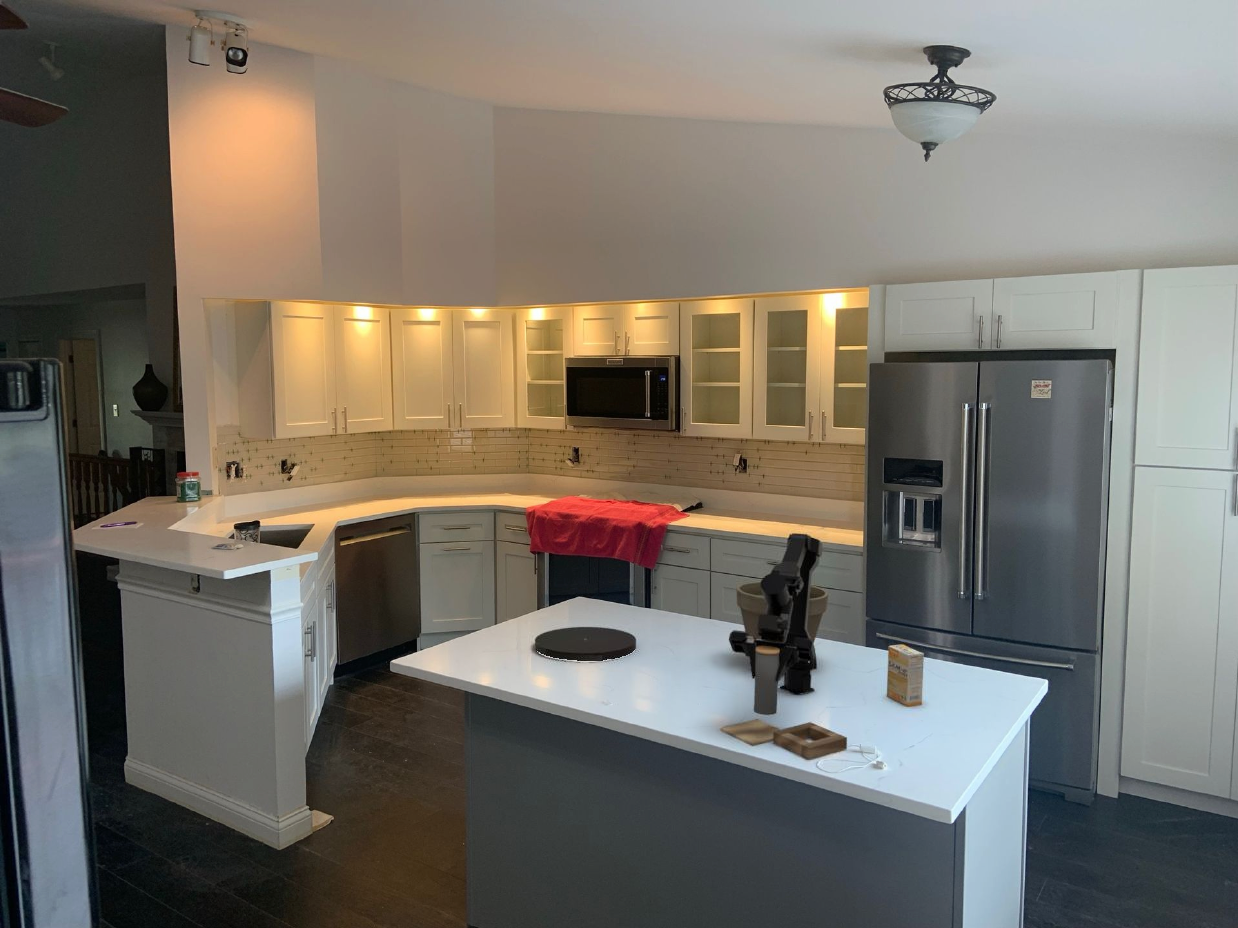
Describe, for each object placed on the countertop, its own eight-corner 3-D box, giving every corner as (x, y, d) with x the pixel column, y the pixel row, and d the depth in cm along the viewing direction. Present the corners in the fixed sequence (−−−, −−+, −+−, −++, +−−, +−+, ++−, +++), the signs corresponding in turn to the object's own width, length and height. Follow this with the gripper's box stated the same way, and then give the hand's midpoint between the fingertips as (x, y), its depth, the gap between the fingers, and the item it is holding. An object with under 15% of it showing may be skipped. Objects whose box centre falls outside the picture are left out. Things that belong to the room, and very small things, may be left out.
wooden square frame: (773, 742, 203) (773, 731, 203) (809, 732, 209) (810, 721, 208) (809, 759, 194) (809, 747, 193) (846, 748, 200) (846, 737, 199)
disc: (521, 641, 283) (521, 631, 283) (611, 631, 296) (611, 622, 296) (556, 668, 256) (556, 657, 256) (653, 656, 269) (653, 646, 268)
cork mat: (720, 729, 210) (720, 727, 210) (757, 720, 216) (757, 718, 216) (752, 745, 201) (752, 743, 201) (790, 735, 207) (790, 733, 207)
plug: (749, 708, 208) (751, 646, 207) (770, 707, 209) (772, 645, 209) (759, 715, 203) (762, 651, 202) (781, 714, 204) (783, 650, 204)
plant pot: (821, 654, 270) (822, 581, 269) (831, 681, 246) (833, 600, 244) (734, 651, 273) (735, 578, 271) (736, 677, 248) (737, 597, 247)
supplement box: (885, 696, 234) (887, 645, 233) (901, 694, 236) (903, 643, 235) (906, 707, 226) (908, 654, 225) (922, 704, 228) (924, 652, 227)
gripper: (731, 595, 211) (716, 656, 202) (813, 603, 204) (802, 666, 195) (740, 621, 219) (726, 680, 210) (819, 629, 212) (809, 691, 203)
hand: (765, 679), depth 204 cm, fingers closed on plug, 5 cm apart
